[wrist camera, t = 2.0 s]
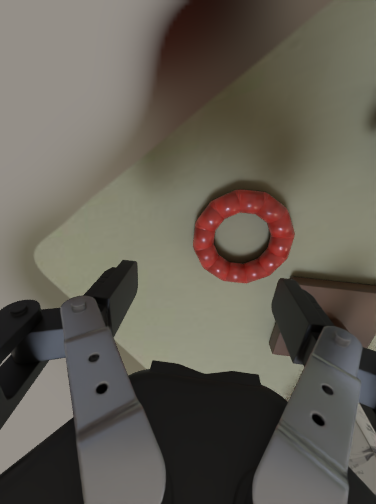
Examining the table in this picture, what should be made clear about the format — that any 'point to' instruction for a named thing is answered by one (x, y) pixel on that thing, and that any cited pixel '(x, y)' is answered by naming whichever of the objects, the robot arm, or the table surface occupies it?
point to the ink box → (364, 450)
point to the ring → (251, 204)
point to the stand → (338, 309)
